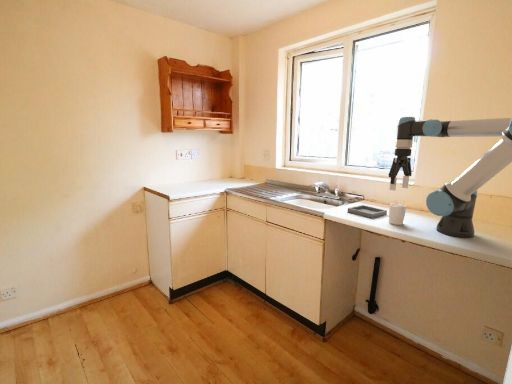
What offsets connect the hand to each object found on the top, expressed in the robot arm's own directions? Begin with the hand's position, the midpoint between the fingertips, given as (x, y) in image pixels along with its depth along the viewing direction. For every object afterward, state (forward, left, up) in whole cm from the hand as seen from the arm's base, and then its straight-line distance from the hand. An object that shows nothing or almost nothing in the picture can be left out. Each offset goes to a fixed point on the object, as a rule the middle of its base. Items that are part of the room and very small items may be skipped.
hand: (398, 189), depth 145 cm
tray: (+19, -5, -19) cm, 27 cm away
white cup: (-1, 0, -19) cm, 19 cm away
